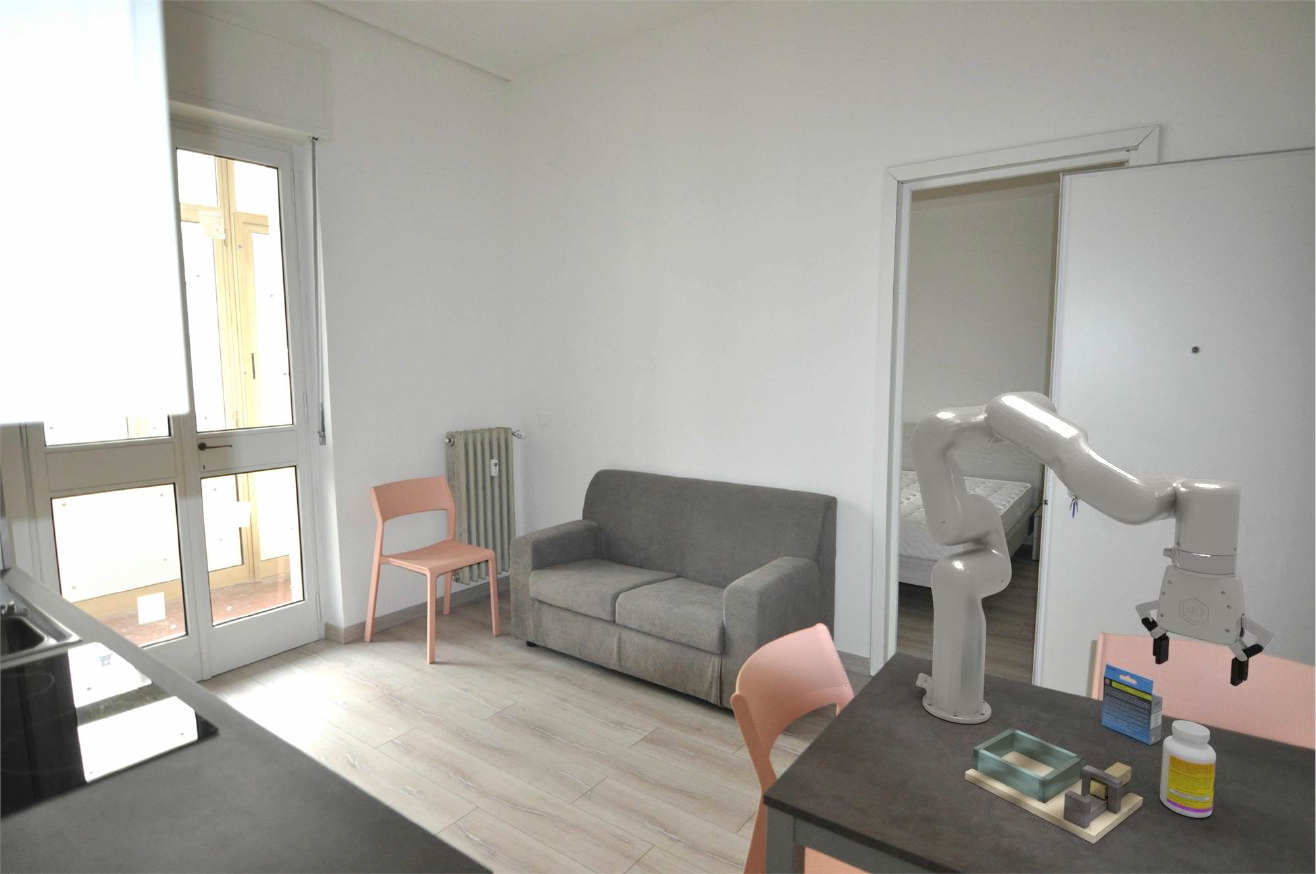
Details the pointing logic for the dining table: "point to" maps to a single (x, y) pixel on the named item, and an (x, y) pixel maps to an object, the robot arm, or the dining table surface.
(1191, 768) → the supplement bottle
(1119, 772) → the lock bolt
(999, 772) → the dock
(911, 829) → the dining table surface
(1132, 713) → the label tape box
